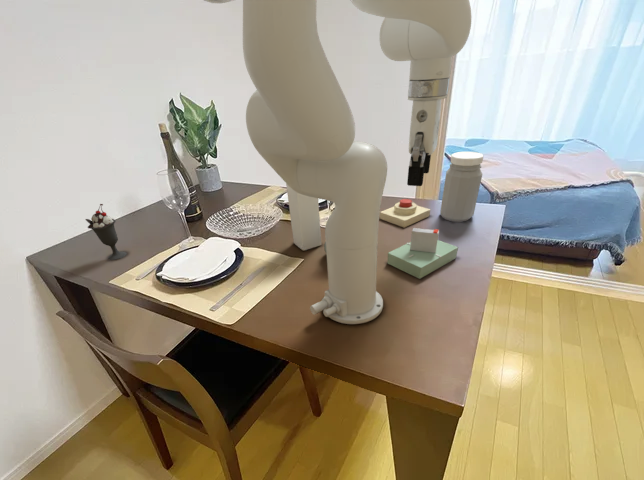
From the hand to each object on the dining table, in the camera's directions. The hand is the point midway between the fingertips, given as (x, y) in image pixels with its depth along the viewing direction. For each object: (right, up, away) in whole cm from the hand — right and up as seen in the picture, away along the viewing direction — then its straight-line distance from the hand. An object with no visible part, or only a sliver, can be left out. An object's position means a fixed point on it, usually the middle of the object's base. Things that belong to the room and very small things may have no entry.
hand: (418, 178), depth 75 cm
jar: (+20, -2, +27) cm, 34 cm away
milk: (-26, -12, +19) cm, 34 cm away
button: (+4, +1, +27) cm, 27 cm away
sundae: (-81, -15, +21) cm, 85 cm away
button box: (+4, -1, +29) cm, 30 cm away
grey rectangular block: (+3, -15, +5) cm, 16 cm away
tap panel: (+3, -18, +7) cm, 19 cm away
